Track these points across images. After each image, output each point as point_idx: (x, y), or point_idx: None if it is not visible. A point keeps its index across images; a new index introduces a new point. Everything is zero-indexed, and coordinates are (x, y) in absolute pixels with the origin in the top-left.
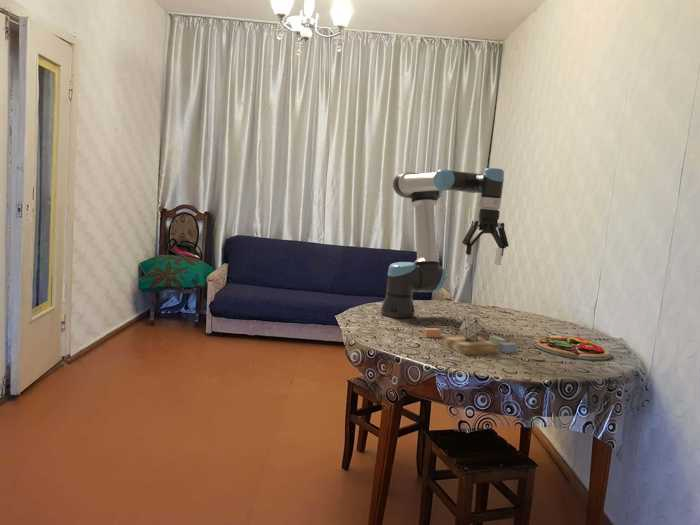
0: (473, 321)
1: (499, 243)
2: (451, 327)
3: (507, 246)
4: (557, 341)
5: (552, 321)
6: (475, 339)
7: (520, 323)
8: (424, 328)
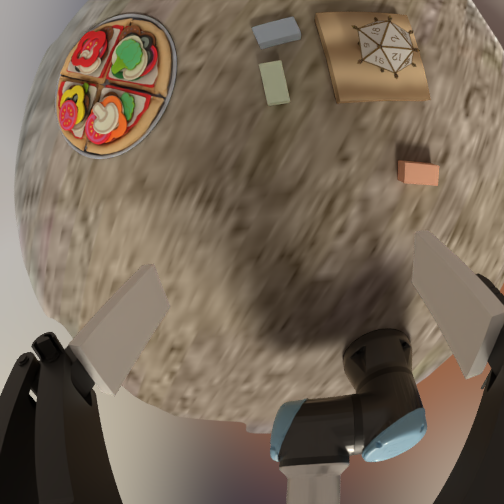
0: (394, 25)
1: (72, 397)
2: (312, 262)
3: (28, 354)
4: (134, 54)
5: (68, 314)
6: (357, 57)
7: None
8: (437, 180)
